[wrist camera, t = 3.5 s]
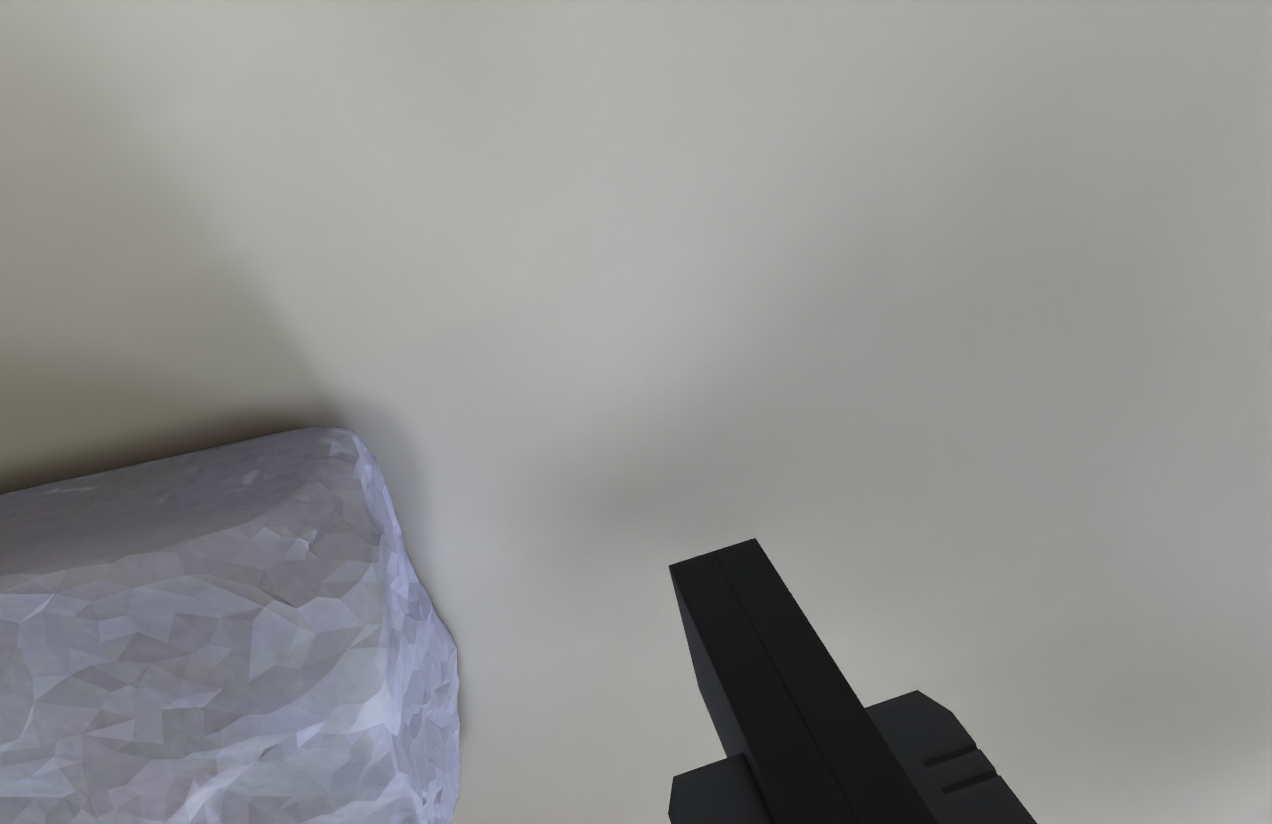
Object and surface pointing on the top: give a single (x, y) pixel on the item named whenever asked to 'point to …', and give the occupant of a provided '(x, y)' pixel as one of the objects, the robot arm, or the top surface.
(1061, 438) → the top surface
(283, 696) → the stone block
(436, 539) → the top surface
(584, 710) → the top surface
